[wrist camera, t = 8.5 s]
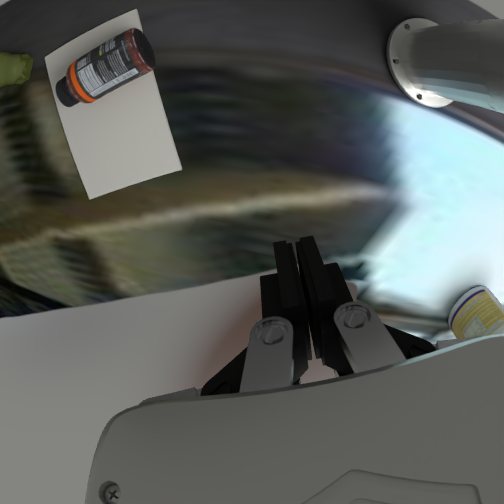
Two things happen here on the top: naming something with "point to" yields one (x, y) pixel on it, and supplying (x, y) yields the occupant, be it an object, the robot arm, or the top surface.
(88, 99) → the supplement bottle
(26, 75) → the pear
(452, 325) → the supplement tub
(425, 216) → the top surface
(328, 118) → the top surface
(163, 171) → the mat
